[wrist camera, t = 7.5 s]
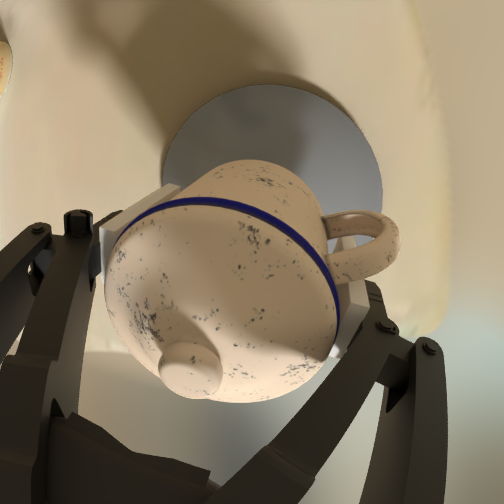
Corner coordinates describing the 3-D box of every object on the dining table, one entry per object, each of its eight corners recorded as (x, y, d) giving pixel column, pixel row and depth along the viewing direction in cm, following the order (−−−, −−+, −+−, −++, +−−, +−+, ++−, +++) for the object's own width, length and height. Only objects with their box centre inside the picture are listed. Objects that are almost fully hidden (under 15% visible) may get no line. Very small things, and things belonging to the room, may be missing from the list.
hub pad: (141, 128, 22) (133, 130, 21) (348, 62, 17) (350, 59, 16) (209, 301, 28) (205, 308, 27) (391, 270, 23) (394, 278, 22)
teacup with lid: (215, 304, 22) (150, 447, 12) (158, 184, 18) (19, 282, 8) (388, 264, 18) (440, 426, 8) (353, 118, 15) (440, 146, 5)
